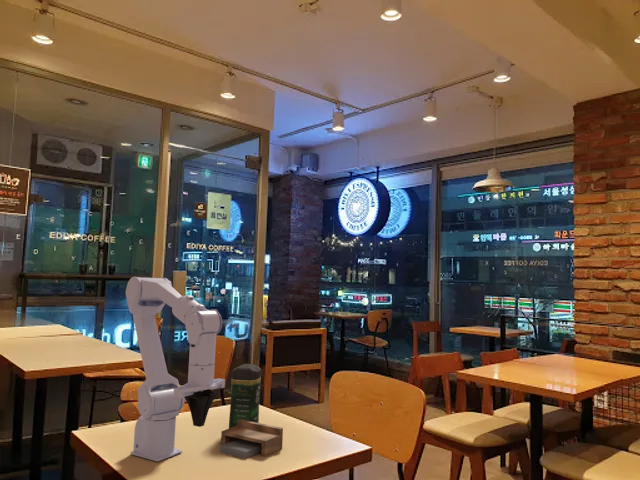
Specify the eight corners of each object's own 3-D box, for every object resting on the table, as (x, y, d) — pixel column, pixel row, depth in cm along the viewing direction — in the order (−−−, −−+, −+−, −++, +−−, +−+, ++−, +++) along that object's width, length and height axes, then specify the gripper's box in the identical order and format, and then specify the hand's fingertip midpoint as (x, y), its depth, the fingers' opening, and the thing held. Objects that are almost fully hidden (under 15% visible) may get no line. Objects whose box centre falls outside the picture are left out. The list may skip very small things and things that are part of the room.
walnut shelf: (220, 445, 127) (221, 425, 128) (239, 438, 134) (239, 419, 134) (265, 456, 121) (266, 435, 121) (282, 447, 127) (282, 427, 128)
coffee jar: (253, 437, 135) (256, 368, 137) (225, 435, 136) (228, 366, 138) (261, 427, 145) (264, 362, 147) (235, 425, 146) (238, 361, 147)
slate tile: (220, 453, 123) (220, 445, 123) (240, 445, 130) (241, 437, 130) (246, 460, 119) (246, 451, 119) (265, 451, 126) (265, 443, 126)
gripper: (192, 370, 103) (188, 436, 102) (236, 361, 116) (233, 421, 115) (167, 366, 107) (164, 430, 106) (213, 358, 120) (210, 416, 118)
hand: (198, 425), depth 111 cm, fingers closed
